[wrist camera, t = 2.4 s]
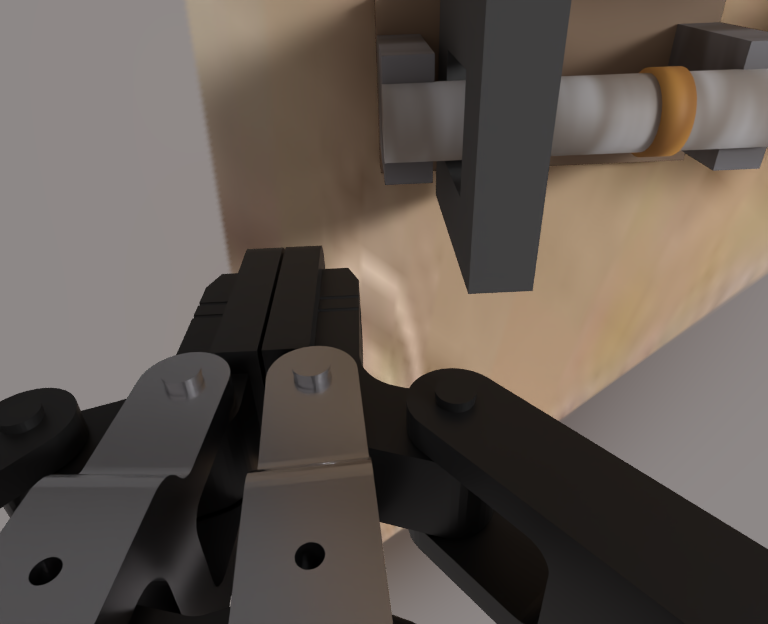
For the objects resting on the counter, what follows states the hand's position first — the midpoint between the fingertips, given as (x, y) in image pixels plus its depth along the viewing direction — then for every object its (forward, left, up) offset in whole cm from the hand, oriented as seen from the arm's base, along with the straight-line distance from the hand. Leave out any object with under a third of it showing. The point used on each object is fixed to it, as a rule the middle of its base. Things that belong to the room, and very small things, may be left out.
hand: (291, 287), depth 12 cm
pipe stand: (0, +11, -20) cm, 22 cm away
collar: (0, +7, -17) cm, 19 cm away
